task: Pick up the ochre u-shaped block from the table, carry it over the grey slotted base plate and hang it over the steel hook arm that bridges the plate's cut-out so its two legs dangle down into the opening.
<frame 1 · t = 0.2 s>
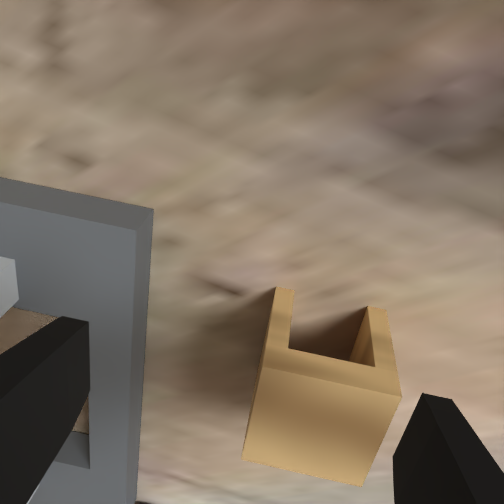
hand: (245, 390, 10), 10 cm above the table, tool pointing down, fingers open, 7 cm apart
ochre u-shaped block: (317, 342, 22), on the table
grey slotted base plate: (31, 358, 25), on the table
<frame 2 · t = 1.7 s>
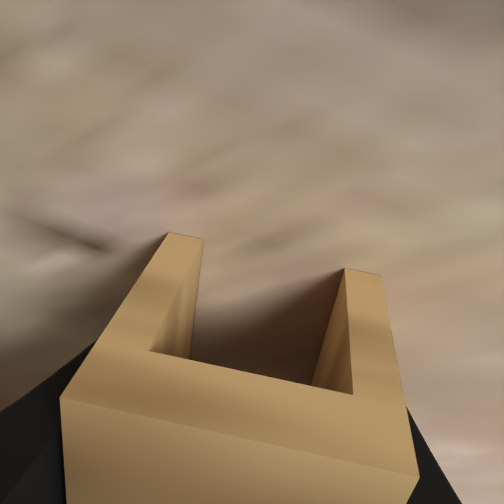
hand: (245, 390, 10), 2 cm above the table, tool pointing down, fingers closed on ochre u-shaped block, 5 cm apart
ochre u-shaped block: (256, 340, 12), on the table, touching gripper
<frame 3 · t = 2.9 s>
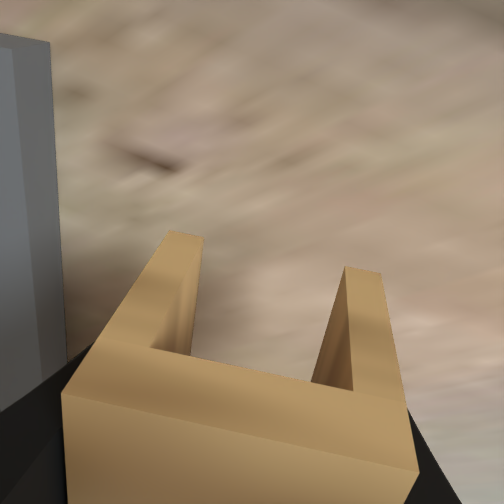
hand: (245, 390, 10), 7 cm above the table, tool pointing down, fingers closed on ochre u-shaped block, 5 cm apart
ochre u-shaped block: (256, 337, 12), point 6 cm above the table, touching gripper
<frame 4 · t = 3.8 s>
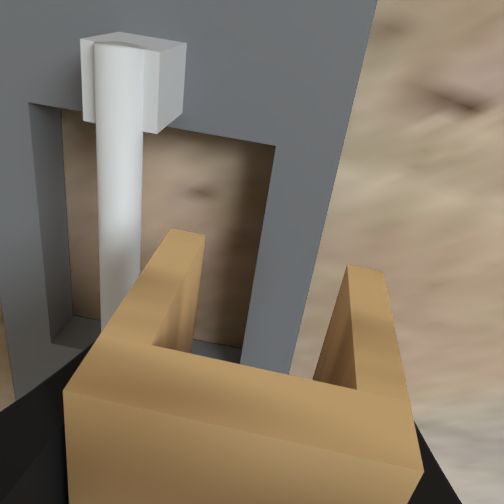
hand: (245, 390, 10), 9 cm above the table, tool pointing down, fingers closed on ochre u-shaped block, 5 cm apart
ochre u-shaped block: (257, 336, 12), point 7 cm above the table, touching gripper
grey slotted base plate: (162, 235, 19), on the table
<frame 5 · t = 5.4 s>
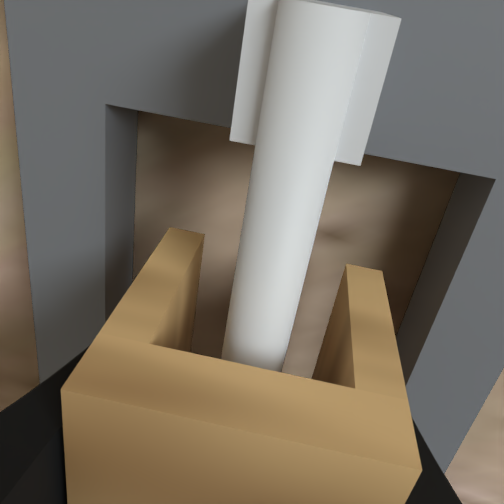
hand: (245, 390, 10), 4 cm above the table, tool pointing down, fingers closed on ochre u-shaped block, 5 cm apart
ochre u-shaped block: (256, 335, 12), point 2 cm above the table, touching gripper
grey slotted base plate: (266, 290, 14), on the table
when the fingers open (4 cm above the table, at t = 6.2 s): ochre u-shaped block stays where it is, resting on grey slotted base plate.
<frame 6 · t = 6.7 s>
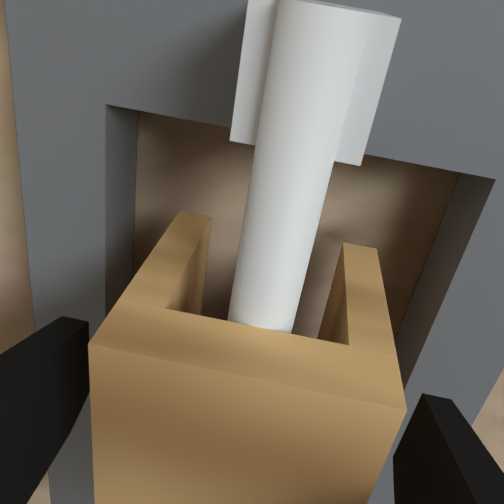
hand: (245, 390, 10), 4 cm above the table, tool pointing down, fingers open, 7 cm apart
ochre u-shaped block: (261, 312, 13), point 1 cm above the table, touching grey slotted base plate
grey slotted base plate: (266, 290, 14), on the table
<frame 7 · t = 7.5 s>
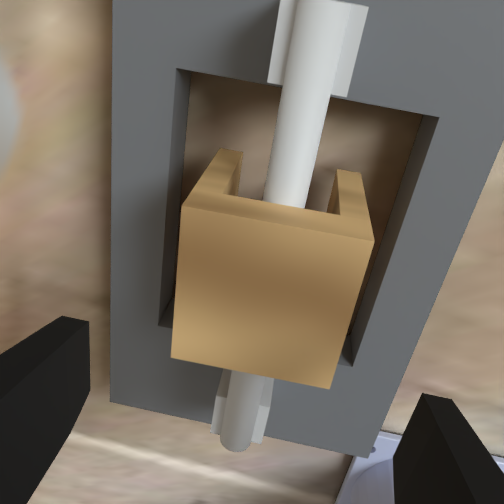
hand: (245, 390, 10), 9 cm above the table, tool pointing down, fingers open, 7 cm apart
ochre u-shaped block: (277, 226, 17), point 1 cm above the table, touching grey slotted base plate
grey slotted base plate: (281, 214, 18), on the table
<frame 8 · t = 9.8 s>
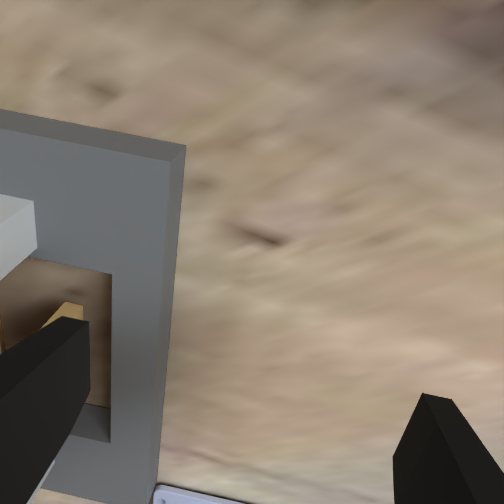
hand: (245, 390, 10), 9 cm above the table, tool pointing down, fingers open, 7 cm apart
ochre u-shaped block: (35, 338, 22), point 1 cm above the table, touching grey slotted base plate
grey slotted base plate: (47, 322, 23), on the table
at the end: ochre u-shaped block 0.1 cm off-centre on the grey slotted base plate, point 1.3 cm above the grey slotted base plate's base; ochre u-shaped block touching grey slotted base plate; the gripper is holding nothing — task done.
